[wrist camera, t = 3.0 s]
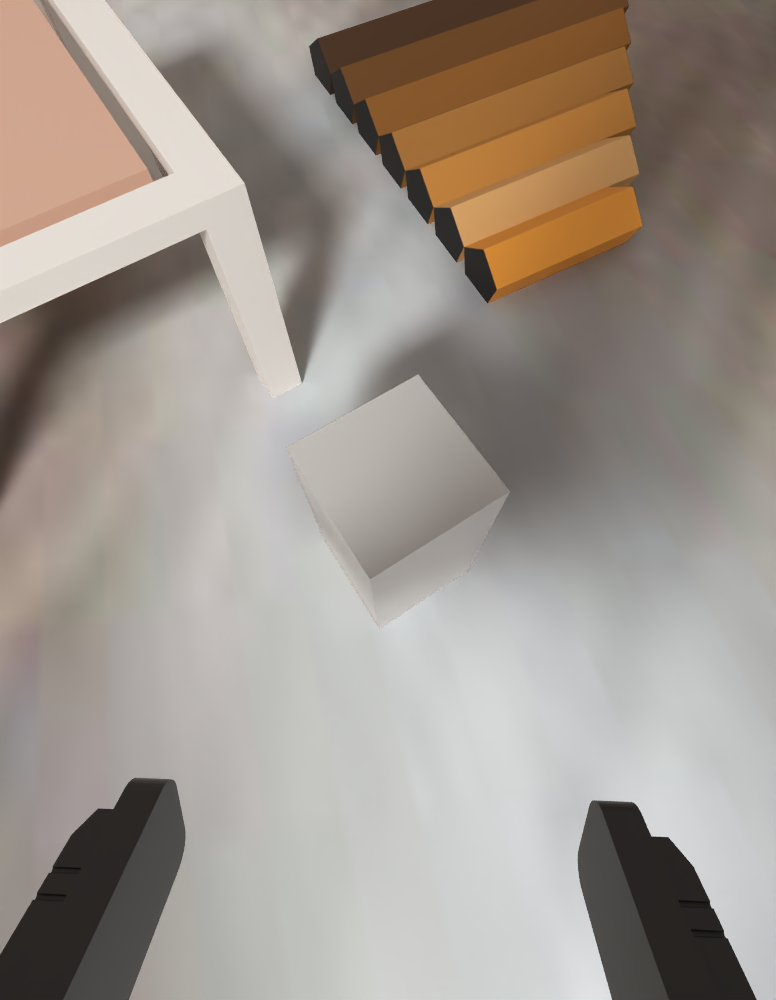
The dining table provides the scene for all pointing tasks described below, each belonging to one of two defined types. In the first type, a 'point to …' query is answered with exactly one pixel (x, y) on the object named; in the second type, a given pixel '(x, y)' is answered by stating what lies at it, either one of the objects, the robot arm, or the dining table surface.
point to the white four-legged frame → (151, 199)
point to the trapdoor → (53, 131)
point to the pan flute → (499, 126)
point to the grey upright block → (398, 497)
